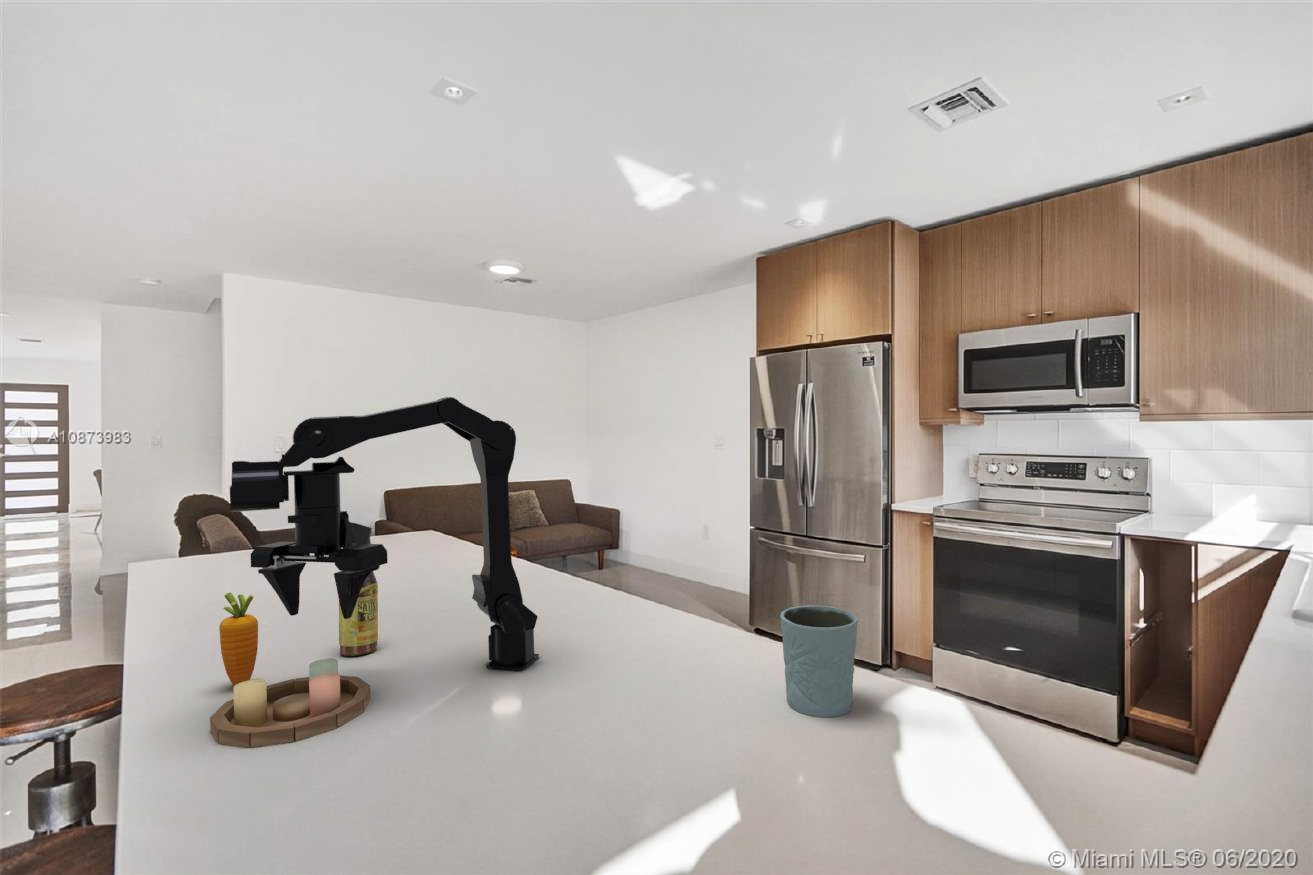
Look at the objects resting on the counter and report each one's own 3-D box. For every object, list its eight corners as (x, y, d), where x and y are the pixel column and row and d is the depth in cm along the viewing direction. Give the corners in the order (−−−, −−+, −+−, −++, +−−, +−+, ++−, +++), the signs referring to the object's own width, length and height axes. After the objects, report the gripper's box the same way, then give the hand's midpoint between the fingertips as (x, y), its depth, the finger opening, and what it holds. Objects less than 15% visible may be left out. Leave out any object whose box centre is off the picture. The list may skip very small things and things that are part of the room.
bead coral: (347, 712, 85) (345, 674, 85) (326, 724, 81) (325, 685, 81) (324, 709, 86) (323, 672, 86) (303, 721, 82) (302, 683, 82)
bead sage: (344, 694, 91) (343, 659, 91) (325, 704, 88) (324, 668, 88) (323, 692, 92) (323, 657, 92) (303, 702, 89) (303, 666, 89)
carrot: (267, 688, 96) (264, 589, 96) (234, 701, 92) (231, 597, 92) (246, 683, 98) (244, 586, 98) (213, 695, 94) (210, 594, 94)
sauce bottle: (363, 658, 108) (359, 542, 108) (331, 657, 109) (327, 542, 109) (386, 646, 115) (383, 536, 115) (356, 644, 116) (353, 536, 116)
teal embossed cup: (808, 683, 92) (806, 601, 92) (874, 703, 85) (871, 613, 85) (767, 705, 85) (765, 616, 85) (835, 728, 78) (832, 631, 78)
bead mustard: (274, 717, 84) (272, 680, 84) (249, 730, 80) (248, 690, 80) (252, 715, 85) (251, 678, 85) (227, 727, 81) (226, 688, 81)
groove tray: (396, 697, 91) (396, 680, 91) (294, 760, 74) (294, 739, 74) (295, 687, 96) (294, 671, 96) (177, 744, 79) (176, 724, 79)
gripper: (411, 500, 95) (413, 604, 95) (308, 500, 100) (311, 599, 100) (357, 509, 84) (360, 626, 84) (246, 508, 89) (249, 619, 89)
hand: (320, 616), depth 90 cm, fingers open, 9 cm apart
